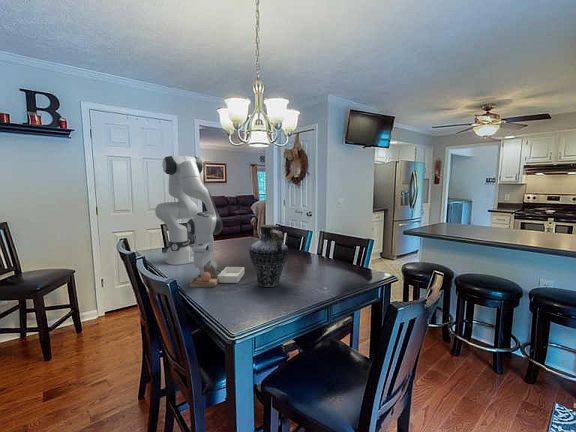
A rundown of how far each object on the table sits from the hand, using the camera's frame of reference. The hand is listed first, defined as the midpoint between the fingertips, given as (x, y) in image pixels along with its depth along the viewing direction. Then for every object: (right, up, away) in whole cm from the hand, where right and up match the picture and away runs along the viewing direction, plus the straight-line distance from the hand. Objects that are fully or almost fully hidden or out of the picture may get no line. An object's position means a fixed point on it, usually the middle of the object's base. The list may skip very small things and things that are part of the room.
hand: (205, 270), depth 152 cm
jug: (+33, -7, -2) cm, 34 cm away
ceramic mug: (0, -5, +14) cm, 15 cm away
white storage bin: (+12, -5, +8) cm, 15 cm away
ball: (0, -3, 0) cm, 3 cm away
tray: (0, -6, 0) cm, 6 cm away
